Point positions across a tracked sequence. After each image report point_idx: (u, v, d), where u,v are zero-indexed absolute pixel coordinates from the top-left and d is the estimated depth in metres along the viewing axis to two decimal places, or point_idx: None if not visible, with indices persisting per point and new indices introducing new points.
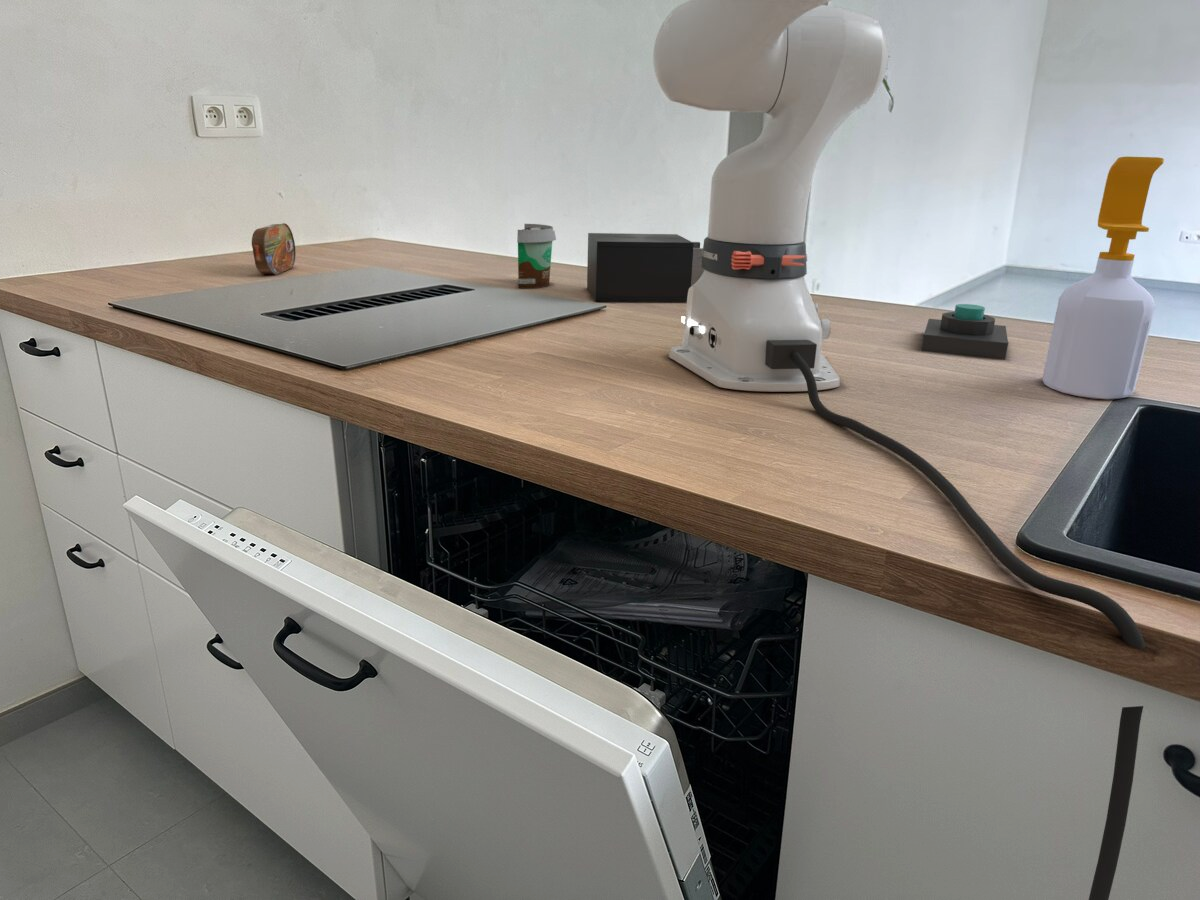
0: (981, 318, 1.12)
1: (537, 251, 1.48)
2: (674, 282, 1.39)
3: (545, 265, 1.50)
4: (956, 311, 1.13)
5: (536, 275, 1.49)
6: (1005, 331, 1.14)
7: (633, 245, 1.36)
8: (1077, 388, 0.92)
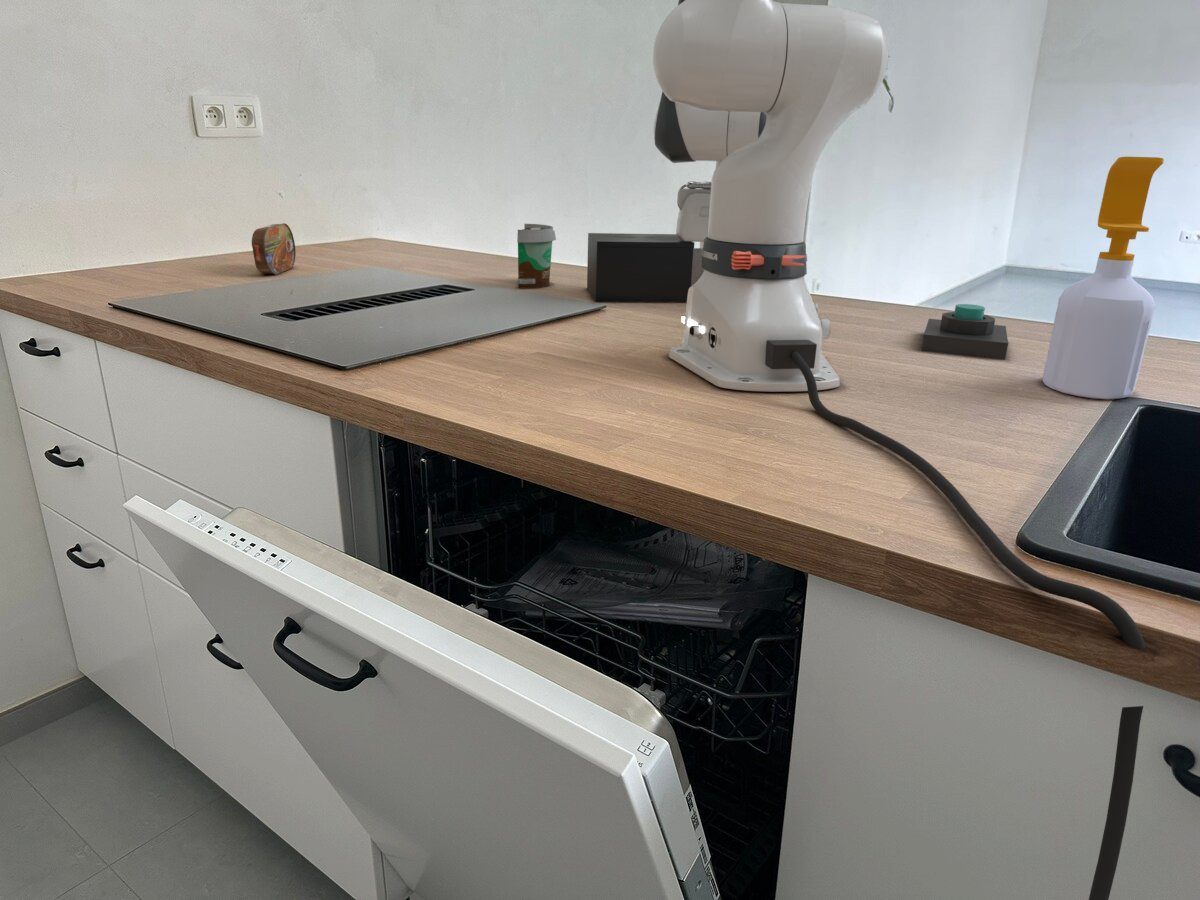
0: (981, 318, 1.12)
1: (537, 251, 1.48)
2: (674, 282, 1.39)
3: (545, 265, 1.50)
4: (956, 311, 1.13)
5: (536, 275, 1.49)
6: (1005, 331, 1.14)
7: (633, 245, 1.36)
8: (1077, 388, 0.92)
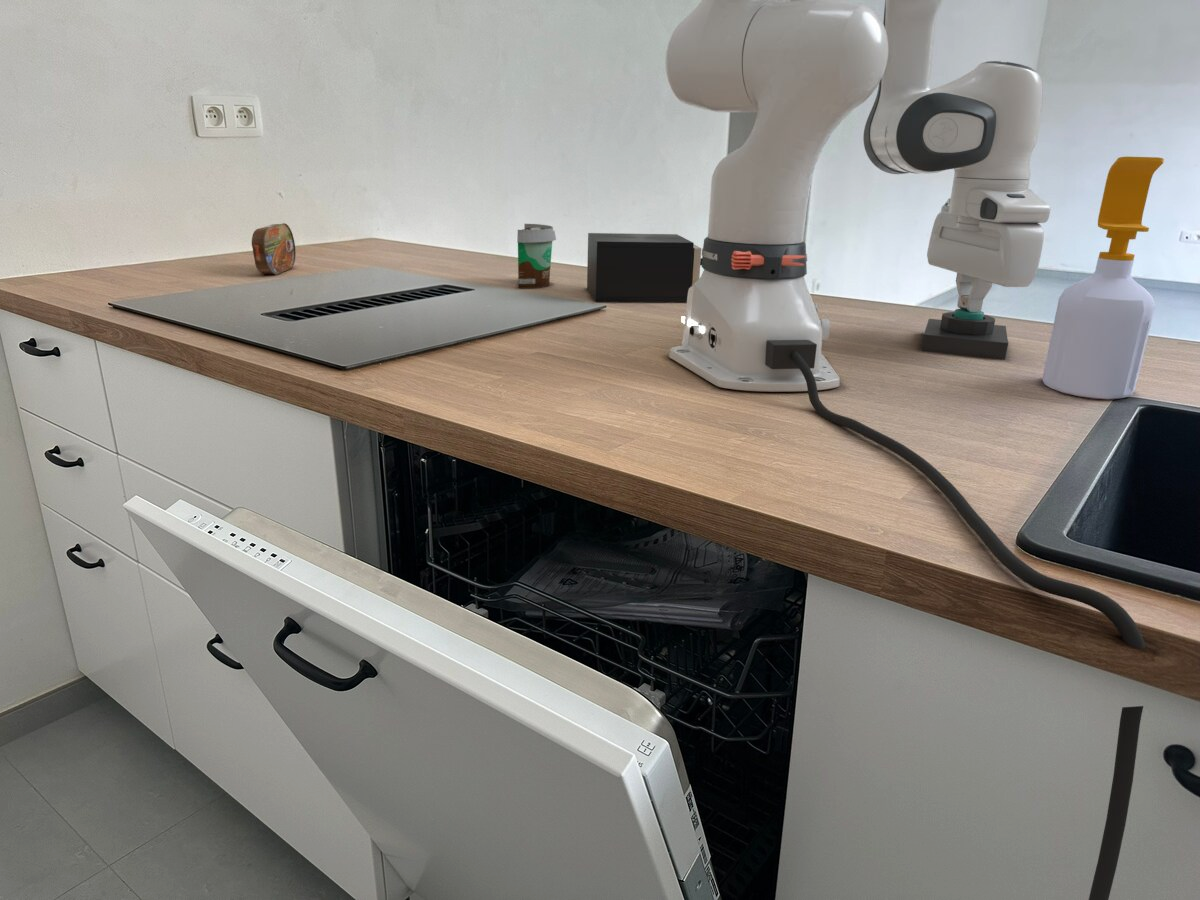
0: None
1: (537, 251, 1.48)
2: (674, 282, 1.39)
3: (545, 265, 1.50)
4: (955, 316, 1.13)
5: (536, 275, 1.49)
6: (1005, 331, 1.14)
7: (633, 245, 1.36)
8: (1077, 388, 0.92)
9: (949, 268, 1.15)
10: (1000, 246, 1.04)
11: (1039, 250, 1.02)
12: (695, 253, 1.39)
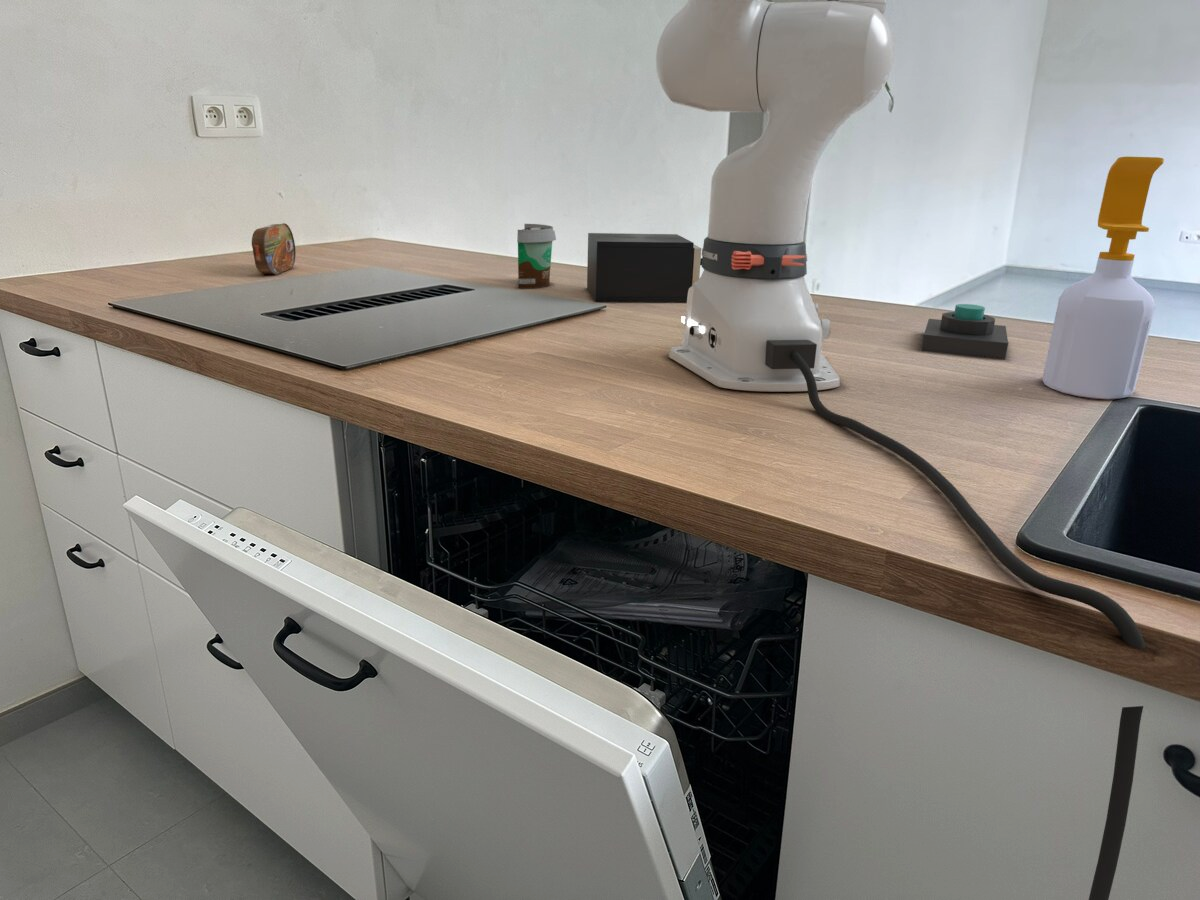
0: (981, 318, 1.12)
1: (537, 251, 1.48)
2: (674, 282, 1.39)
3: (545, 265, 1.50)
4: (956, 311, 1.13)
5: (536, 275, 1.49)
6: (1005, 331, 1.14)
7: (633, 245, 1.36)
8: (1077, 388, 0.92)
9: None
10: None
11: None
12: (695, 253, 1.39)
